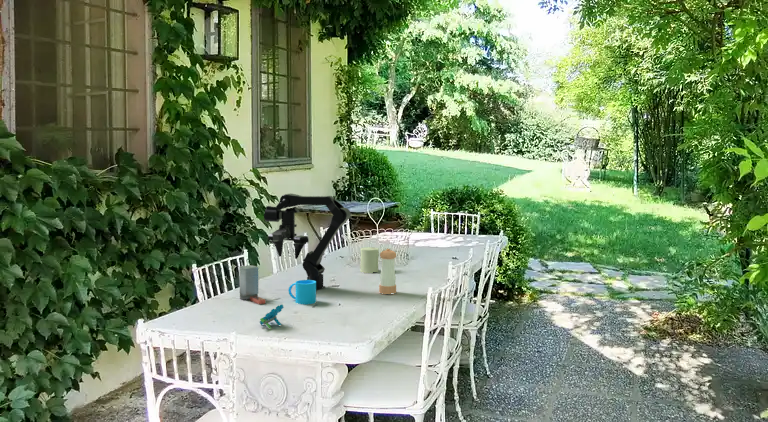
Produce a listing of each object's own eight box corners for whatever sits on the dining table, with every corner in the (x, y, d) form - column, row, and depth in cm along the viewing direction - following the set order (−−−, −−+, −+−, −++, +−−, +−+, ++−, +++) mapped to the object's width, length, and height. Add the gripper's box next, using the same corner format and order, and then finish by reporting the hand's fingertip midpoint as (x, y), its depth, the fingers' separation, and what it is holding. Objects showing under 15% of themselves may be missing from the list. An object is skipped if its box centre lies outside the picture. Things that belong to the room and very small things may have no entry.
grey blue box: (252, 291, 267) (251, 265, 266) (258, 293, 263) (258, 267, 261) (239, 293, 263) (239, 266, 262) (245, 295, 259) (245, 268, 258)
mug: (319, 300, 261) (319, 280, 260) (309, 305, 253) (309, 284, 252) (293, 297, 265) (293, 278, 264) (283, 302, 258) (283, 282, 257)
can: (382, 271, 323) (382, 247, 322) (371, 274, 315) (372, 249, 314) (366, 269, 328) (367, 245, 327) (356, 271, 320) (356, 248, 319)
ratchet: (252, 295, 268) (252, 283, 268) (270, 302, 256) (270, 290, 256) (236, 297, 264) (236, 285, 263) (254, 305, 252) (253, 292, 251)
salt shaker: (398, 292, 277) (399, 248, 275) (391, 295, 270) (392, 250, 269) (383, 290, 280) (384, 246, 278) (376, 293, 274) (376, 249, 272)
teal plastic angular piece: (272, 315, 231) (285, 299, 226) (282, 328, 230) (296, 312, 225) (251, 326, 222) (265, 310, 217) (262, 340, 221) (276, 323, 216)
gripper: (259, 222, 281) (259, 257, 282) (293, 225, 271) (292, 262, 273) (276, 220, 290) (276, 254, 292) (309, 223, 281) (309, 258, 282)
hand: (288, 257), depth 284 cm, fingers open, 9 cm apart
